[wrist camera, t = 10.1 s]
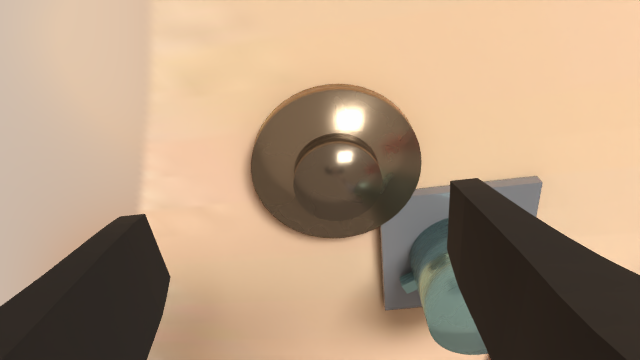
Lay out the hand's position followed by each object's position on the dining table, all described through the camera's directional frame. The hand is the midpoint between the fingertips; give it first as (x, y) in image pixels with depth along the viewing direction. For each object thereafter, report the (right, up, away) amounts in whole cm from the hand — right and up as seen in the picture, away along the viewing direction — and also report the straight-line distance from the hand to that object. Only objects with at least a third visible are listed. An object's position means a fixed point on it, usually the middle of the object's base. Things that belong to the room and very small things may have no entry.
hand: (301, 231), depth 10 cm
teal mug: (+8, -3, +13) cm, 15 cm away
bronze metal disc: (+1, +2, +11) cm, 11 cm away
